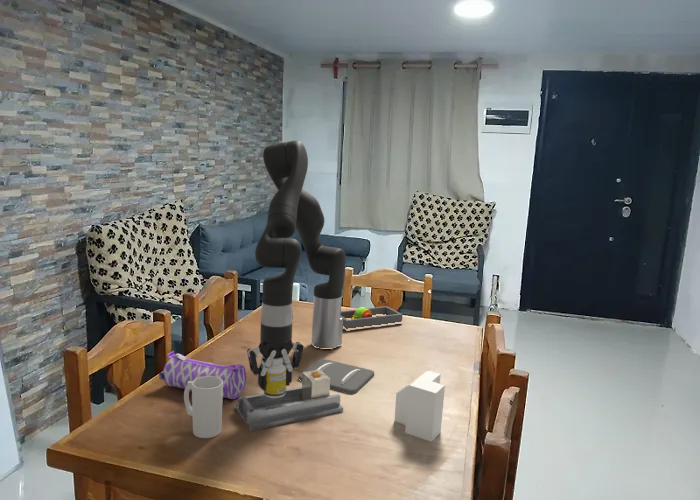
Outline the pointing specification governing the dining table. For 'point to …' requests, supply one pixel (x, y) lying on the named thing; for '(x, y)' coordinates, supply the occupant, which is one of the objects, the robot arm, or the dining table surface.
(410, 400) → the white notched block
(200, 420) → the mug
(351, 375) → the grey flat block
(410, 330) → the dining table surface
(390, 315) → the gray rectangular tray
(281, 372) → the supplement bottle
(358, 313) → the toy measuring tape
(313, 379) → the rail tray
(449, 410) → the dining table surface
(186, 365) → the pencil case
